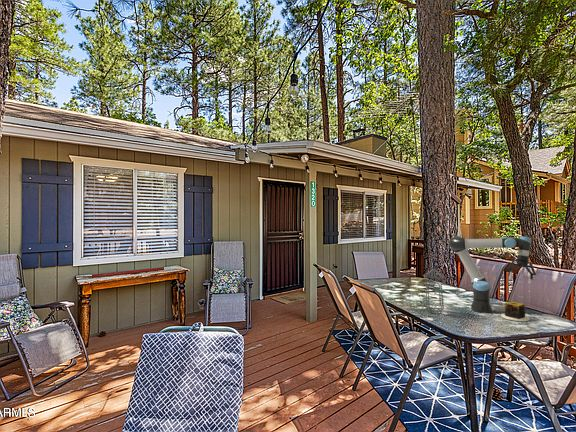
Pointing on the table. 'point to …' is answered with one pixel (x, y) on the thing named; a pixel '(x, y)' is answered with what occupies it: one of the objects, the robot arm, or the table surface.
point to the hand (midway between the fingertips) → (519, 281)
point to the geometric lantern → (434, 286)
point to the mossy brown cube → (515, 310)
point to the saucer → (515, 318)
